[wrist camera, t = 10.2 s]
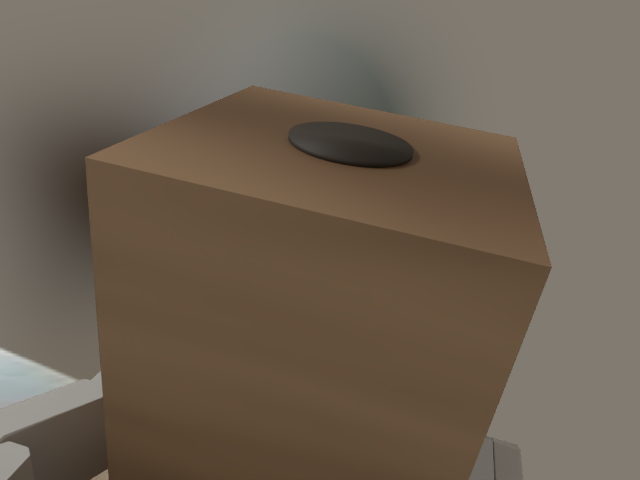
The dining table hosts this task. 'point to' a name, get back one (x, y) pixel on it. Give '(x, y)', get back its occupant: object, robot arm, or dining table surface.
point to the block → (308, 291)
